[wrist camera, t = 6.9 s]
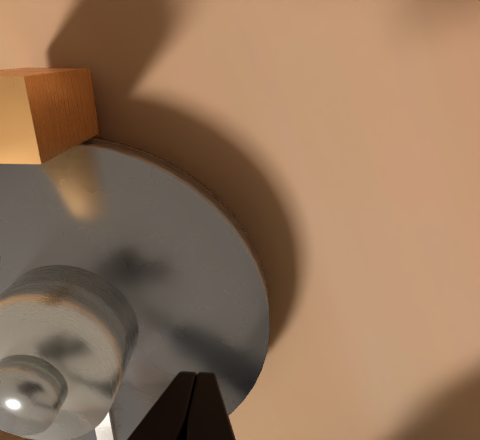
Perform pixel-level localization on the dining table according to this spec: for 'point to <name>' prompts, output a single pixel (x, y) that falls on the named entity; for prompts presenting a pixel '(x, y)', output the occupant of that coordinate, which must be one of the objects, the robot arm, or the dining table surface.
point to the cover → (62, 351)
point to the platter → (128, 242)
